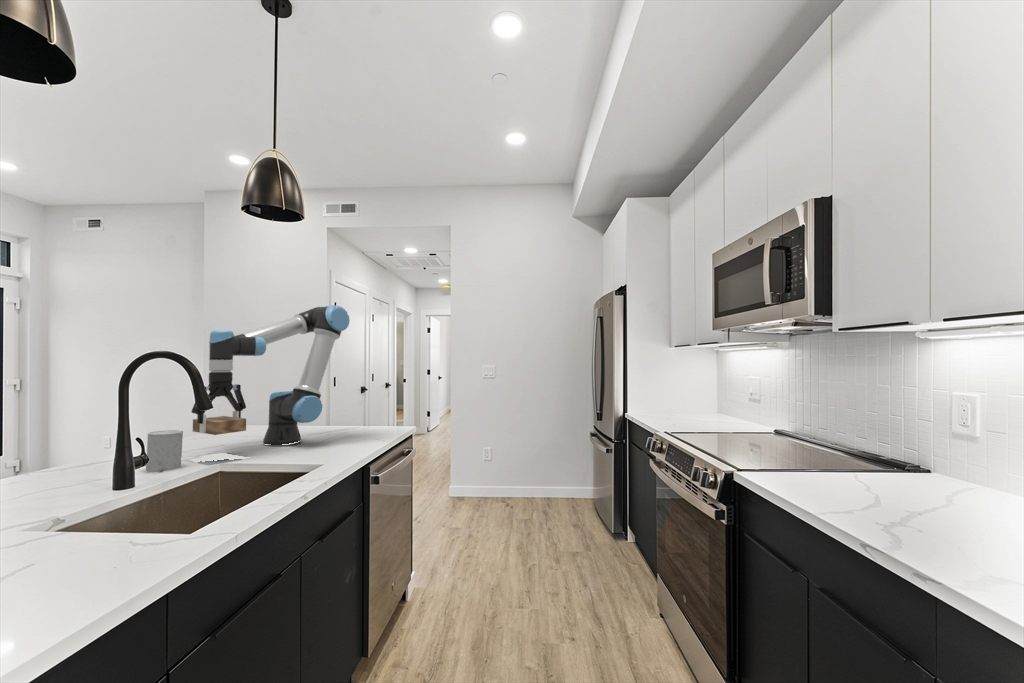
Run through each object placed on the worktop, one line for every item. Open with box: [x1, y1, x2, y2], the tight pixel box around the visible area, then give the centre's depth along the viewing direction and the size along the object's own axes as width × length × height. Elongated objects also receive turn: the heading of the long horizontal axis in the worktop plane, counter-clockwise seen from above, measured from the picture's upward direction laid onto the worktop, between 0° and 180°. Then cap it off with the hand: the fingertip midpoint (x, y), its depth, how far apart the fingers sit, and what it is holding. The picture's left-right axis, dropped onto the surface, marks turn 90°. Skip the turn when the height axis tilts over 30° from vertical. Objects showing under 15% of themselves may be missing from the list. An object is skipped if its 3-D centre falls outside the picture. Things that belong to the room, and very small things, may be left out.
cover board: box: [192, 415, 247, 436], centre depth 171 cm, size 11×15×4 cm
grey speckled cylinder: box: [145, 429, 184, 473], centre depth 154 cm, size 10×10×12 cm
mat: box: [197, 459, 242, 466], centre depth 170 cm, size 16×20×1 cm
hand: (219, 430), depth 171 cm, fingers closed on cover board, 11 cm apart
